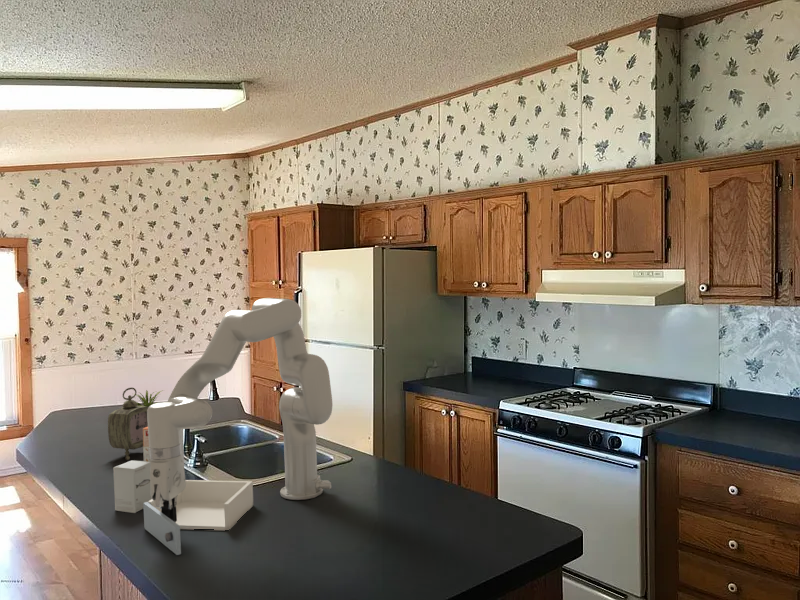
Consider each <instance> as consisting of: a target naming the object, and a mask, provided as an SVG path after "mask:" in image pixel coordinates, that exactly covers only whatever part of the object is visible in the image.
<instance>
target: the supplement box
mask: <svg viewBox="0 0 800 600" xmlns="http://www.w3.org/2000/svg"><path fill="white" fill-rule="evenodd" d="M150 467H151V462H145V461H144V460H128V461H127V462H124V463H122V464H119V465H116V466H114V467H113V468H112V469H113V490H114V491H113V493H114V510H115V511H118V512H123V513H124V512H125V513H131V514H136V513H138V512H139V511H142V510H144V508H143V503H145V502H148V501H150V500H151V499H152V498H151V491H150Z"/></svg>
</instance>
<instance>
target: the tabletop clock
mask: <svg viewBox="0 0 800 600" xmlns="http://www.w3.org/2000/svg"><path fill="white" fill-rule="evenodd" d="M130 390H133V391H134V394H133V395H128V397H125V393H127V392H128V391H130ZM136 394H137V389H136V388H134V387H128V388H125V390H124V391H122V398H123V400H126V401H124V402H123V404H122V407H120V408H118V409H115V410H112V412H110V413H108V417H107V434H108V435H107V436H108V441H109V444H110V446H111V447H112V448H113V449H119V450H120V449H121V450H123V449H124V455H125V457H124V458H125V460H126V461H130V458H131V456H130V453H131V452H130V451H129V450H137V449H141V448H143V428H145V427H148V421H147V409H148V407H149V406H143V405H142V406H138V404H137V401H136V400H134V399H135V397H137V395H136Z"/></svg>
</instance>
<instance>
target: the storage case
mask: <svg viewBox="0 0 800 600" xmlns="http://www.w3.org/2000/svg"><path fill="white" fill-rule="evenodd" d="M185 481H186V487H185V489H184V490H183V491H182V492H181V493H179V494H178V495H177V505H176V514H177V521H176V522H175V523H177V524H178V525H179V526H180V530H194V529H214V530H213V531H225V530H229V529H230V530H231V529H232V528H233V527H234V526H235V525H236V524H237V523H238V522H239V521H240V520H241V519H242V518H243V517H244V516H245V515H246V514H247V513H248V512H249V511H250V510H251V508H252V507H254V490H253V489H254V487H253V484H254V483H253V481H252V480H251V481H250V480H249V481H248V480H210V479H209V480H208V479H207V480H206V479H205V480H204V479H200V480H199V479H185ZM148 503H149V504H151V505H152V506H153V507H155V508H156V509H157V510H159V511H160V512H161V509H160V507H156V506H155V500H152V499H151V500H150V501H148ZM247 511H248V512H247ZM246 512H247V513H246ZM245 513H246V514H245ZM244 514H245V515H244ZM243 515H244V516H243ZM242 516H243V517H242ZM241 517H242V518H241ZM240 518H241V519H240ZM239 519H240V520H239ZM238 520H239V521H238ZM237 521H238V522H237ZM230 530H229V531H230Z"/></svg>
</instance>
